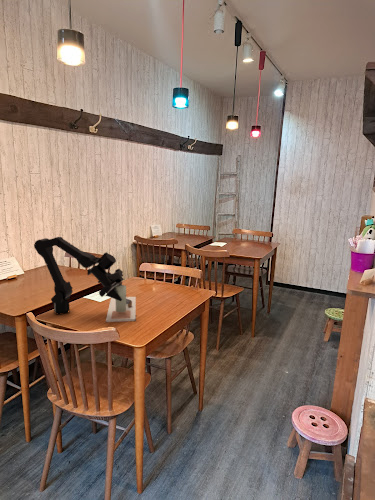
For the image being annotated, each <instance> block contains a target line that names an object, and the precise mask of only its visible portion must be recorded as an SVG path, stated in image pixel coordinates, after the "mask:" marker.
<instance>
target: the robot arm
mask: <svg viewBox="0 0 375 500" xmlns="http://www.w3.org/2000/svg"><path fill="white" fill-rule="evenodd" d="M33 247H34V249H35V251H36V252H37V254H38V255H39V256H41V257H42V258H43V260H44V261H43V262H44V263H45V265H46V267H47V269H48V272H49V274H50V276H51V278H52V282H53V284H54V286H53V287H54V289H53V290H54V295H53V296H52V297H51V298H50V299H51V300H50V301H51V303H52V304H53V308H54V309H53V312H54V311H55V312H56V313H58V314H59V315H61V314H60V313H64V314H67V313H66V312H68V311H69V312H70V302H69V300H68V299H70V296H71V295H72V294H73V287H72V285H71V282H70V281H66V280H65V279H64V276H63V274H62V272H61V269H60V268H59V265H58V263H57V260H56V258H55V256H54V247H57V248H59V249H61V250H62V251H64V252H65V253H67V254H69V255H70V256H71V257H72V258H74V259H75V260H76V261H77V263H78V264H79V265H81V267H83V268H85V269H87V274H86V275H87V276H90V275H93V276H94V277H95V279H96V280H98V281H97V283H98V284H100V283H101V285H102V286H103V288H101V289H100V290H99V291H98V293H99V294H98V295H99V296H100V297H101V298H103V297H104V296H105V297H109V298H110V299H111V298H114V299H116V300H119V301H121V300H122V299H121V297H120V296H119V294H118V293H117V292H116V287H115V286H117V285H123V281H124V278H123V276H124V275H123V273H124V272H123V270H121V269H120V268H117V269H115V271H114V272H113V273H111V272H107V270H109V269H110V268H111V267H113V265H114V264H116V262H117V259H116V258H115V256H114V255H112V254H110V253H108V252H107V251H106V252H104V253H103V254H102V256H101V257H98V256H95V255H94V254H93V253H92V254H91V253H90V252H87V251H83V250H81V249H79V247H77V246H75V245H73V243H72V244H71V242H69V241H67V240H66V239H64V238H63V237H62V236H57V237H54V238H47V237H45V238H41V239H38V240H37V239H36V241H35V242H34V244H33ZM96 264H97V265H96ZM90 267H91V268H90ZM55 312H54V313H55ZM56 313H55V314H56Z"/></svg>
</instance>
